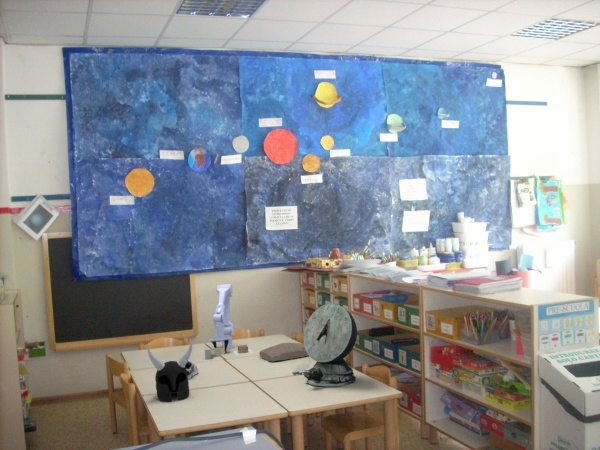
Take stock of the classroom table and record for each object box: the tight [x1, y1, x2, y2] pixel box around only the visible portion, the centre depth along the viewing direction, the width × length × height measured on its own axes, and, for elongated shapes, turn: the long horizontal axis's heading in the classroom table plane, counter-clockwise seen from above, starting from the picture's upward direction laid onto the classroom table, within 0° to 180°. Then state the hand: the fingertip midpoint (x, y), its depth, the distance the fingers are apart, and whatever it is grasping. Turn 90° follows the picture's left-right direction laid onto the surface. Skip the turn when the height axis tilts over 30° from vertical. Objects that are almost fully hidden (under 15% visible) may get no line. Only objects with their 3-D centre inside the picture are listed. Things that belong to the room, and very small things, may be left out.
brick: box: [217, 345, 226, 355], centre depth 406 cm, size 4×4×5 cm
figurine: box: [291, 356, 312, 376], centre depth 345 cm, size 14×4×9 cm, turn 107°
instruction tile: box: [204, 347, 222, 360], centre depth 397 cm, size 2×10×6 cm, turn 104°
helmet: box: [146, 337, 193, 403], centre depth 317 cm, size 22×19×30 cm
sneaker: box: [185, 360, 199, 381], centre depth 354 cm, size 10×20×10 cm, turn 168°
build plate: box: [232, 348, 254, 356], centre depth 406 cm, size 12×12×1 cm
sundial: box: [303, 303, 358, 387], centre depth 323 cm, size 31×32×40 cm
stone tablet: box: [258, 342, 310, 362], centre depth 389 cm, size 20×8×30 cm
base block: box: [237, 344, 249, 354], centre depth 406 cm, size 6×6×4 cm
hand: (221, 352), depth 406 cm, fingers open, 5 cm apart
